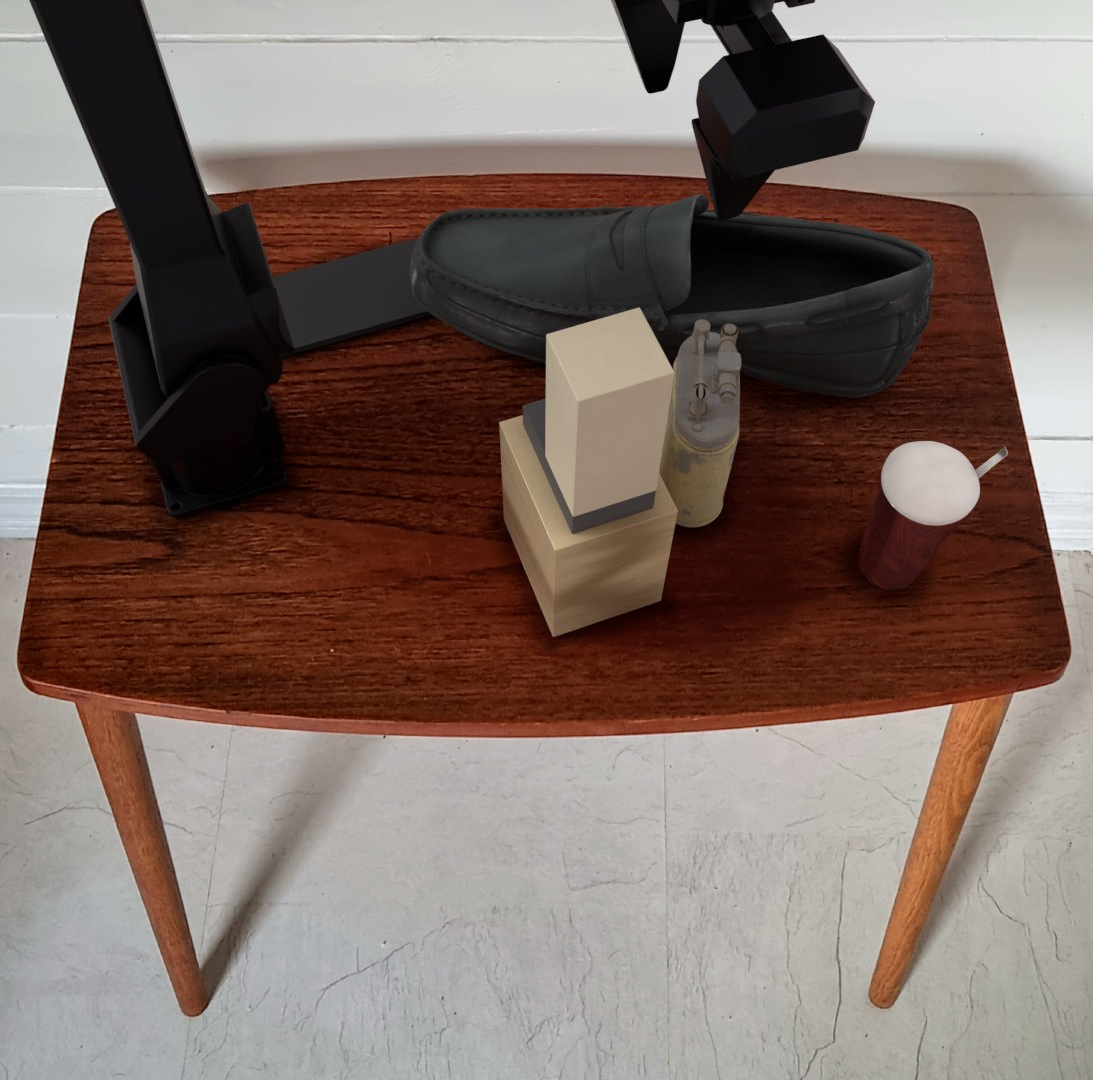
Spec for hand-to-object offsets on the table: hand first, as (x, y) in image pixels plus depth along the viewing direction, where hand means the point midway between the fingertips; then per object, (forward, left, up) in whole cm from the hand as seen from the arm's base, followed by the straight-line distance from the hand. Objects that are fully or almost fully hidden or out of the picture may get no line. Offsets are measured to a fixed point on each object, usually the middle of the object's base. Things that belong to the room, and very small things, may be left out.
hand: (690, 151), depth 60 cm
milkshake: (+5, -18, -14) cm, 24 cm away
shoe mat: (-18, +9, -14) cm, 24 cm away
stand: (-10, -12, -14) cm, 21 cm away
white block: (-10, -12, -5) cm, 17 cm away
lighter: (-3, -9, -14) cm, 17 cm away
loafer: (0, +1, -14) cm, 14 cm away
